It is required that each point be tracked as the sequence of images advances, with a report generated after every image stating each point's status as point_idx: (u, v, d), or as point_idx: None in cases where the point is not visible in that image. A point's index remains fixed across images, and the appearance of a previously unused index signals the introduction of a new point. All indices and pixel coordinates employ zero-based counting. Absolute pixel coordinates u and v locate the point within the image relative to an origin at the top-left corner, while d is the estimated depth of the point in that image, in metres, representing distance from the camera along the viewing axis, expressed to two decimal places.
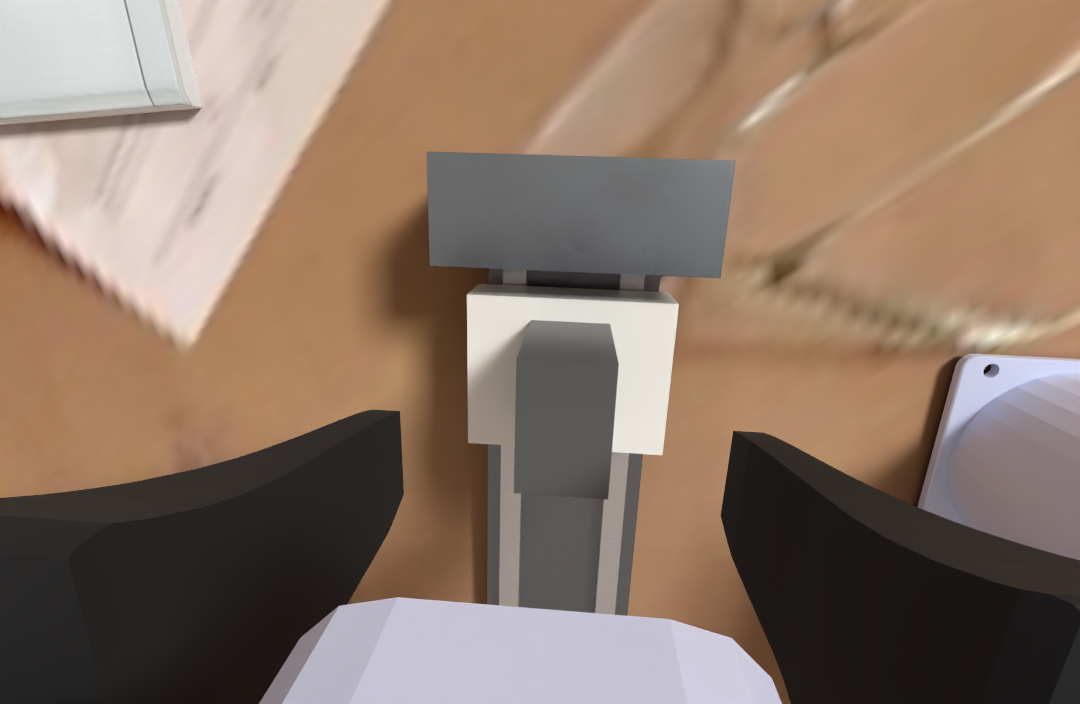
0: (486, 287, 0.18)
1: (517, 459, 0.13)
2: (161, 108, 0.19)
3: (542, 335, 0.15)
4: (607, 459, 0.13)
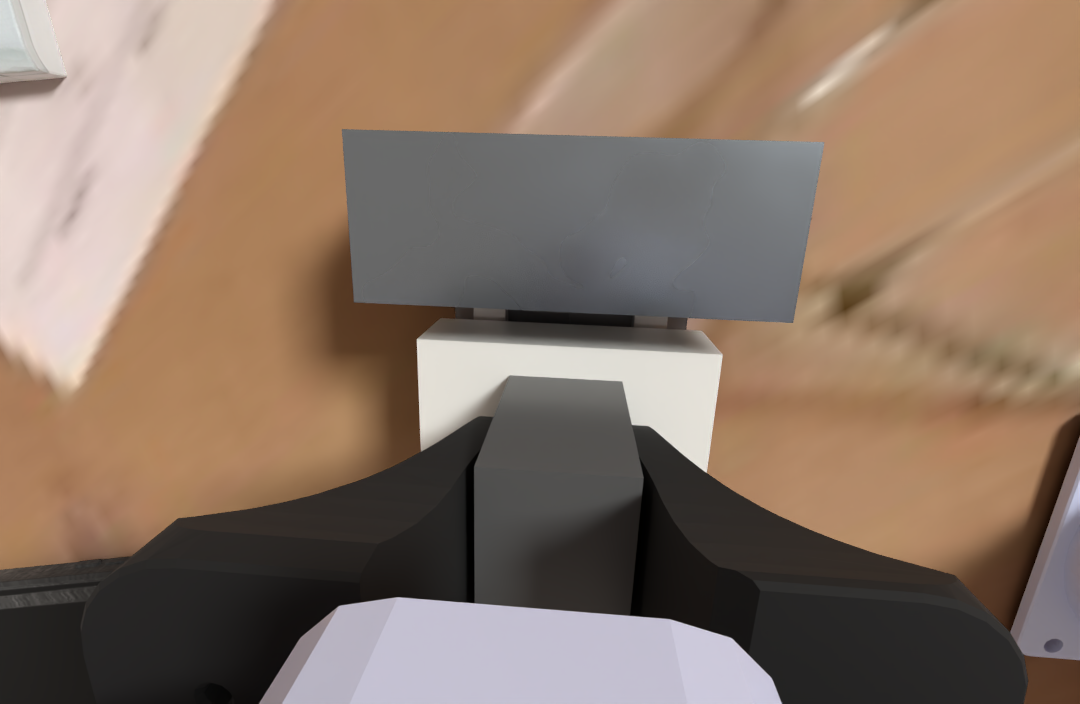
0: (448, 324, 0.13)
1: None
2: (9, 77, 0.14)
3: (522, 408, 0.10)
4: None
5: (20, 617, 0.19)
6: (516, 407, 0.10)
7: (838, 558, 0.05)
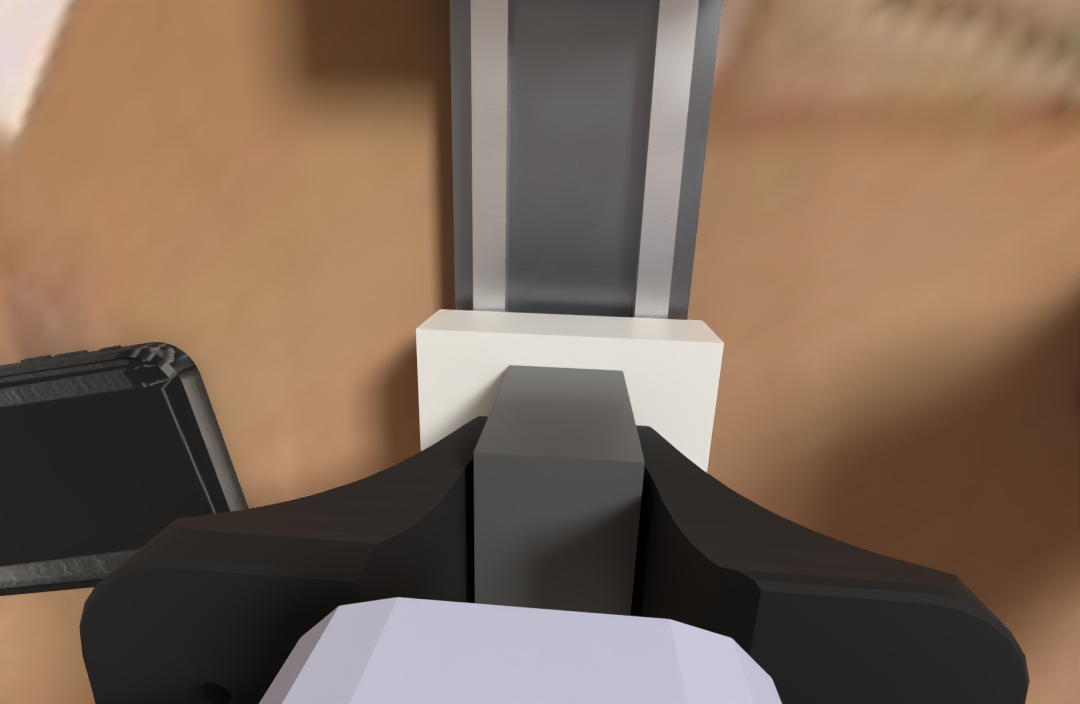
0: (448, 315, 0.13)
1: None
2: None
3: (522, 396, 0.10)
4: (625, 609, 0.08)
5: None
6: (516, 395, 0.10)
7: (839, 558, 0.05)
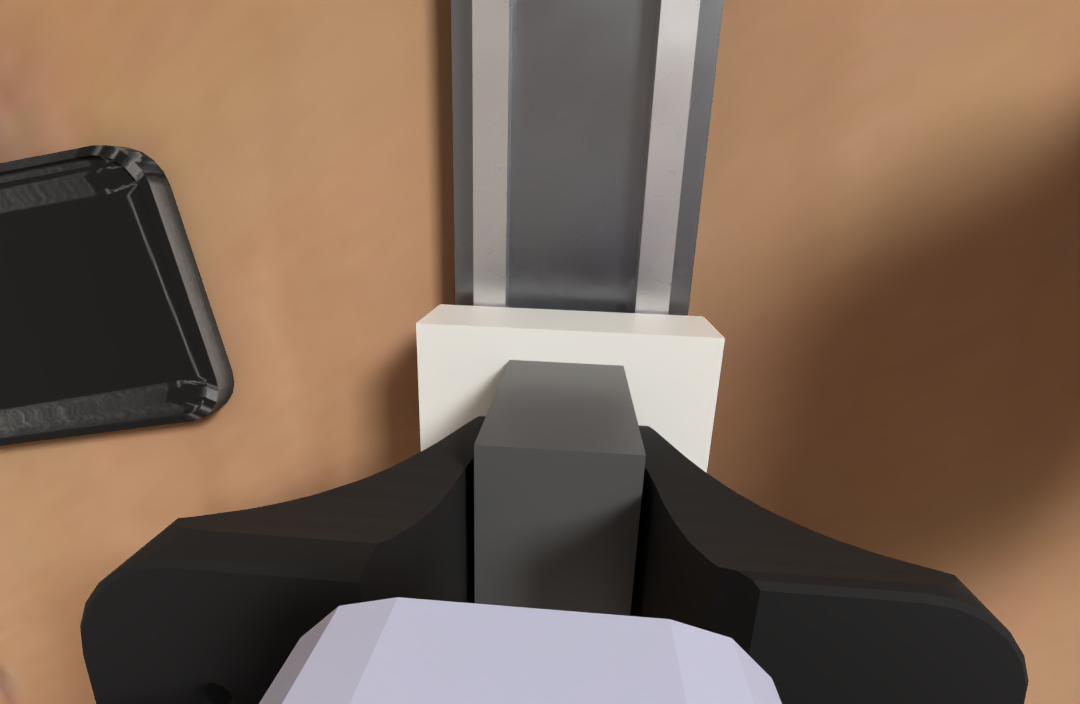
0: (448, 310, 0.13)
1: (479, 599, 0.08)
2: None
3: (523, 390, 0.10)
4: (625, 602, 0.08)
5: None
6: (516, 389, 0.10)
7: (838, 558, 0.05)
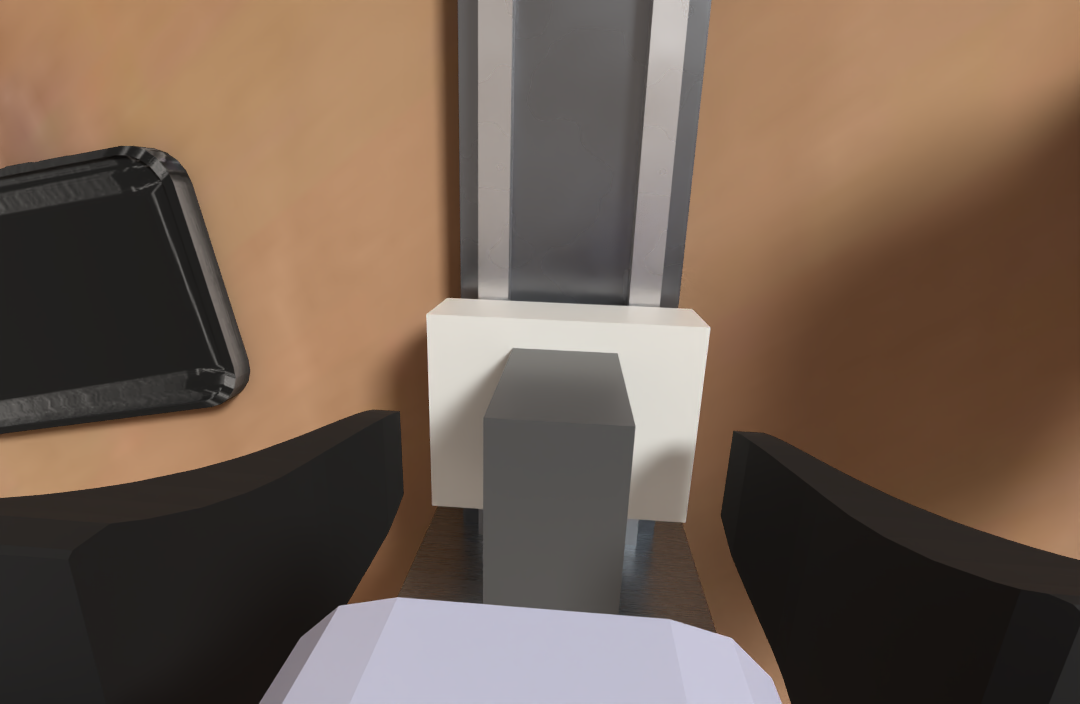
0: (455, 303, 0.13)
1: (487, 558, 0.09)
2: None
3: (525, 373, 0.11)
4: (618, 561, 0.09)
5: None
6: (520, 373, 0.11)
7: None
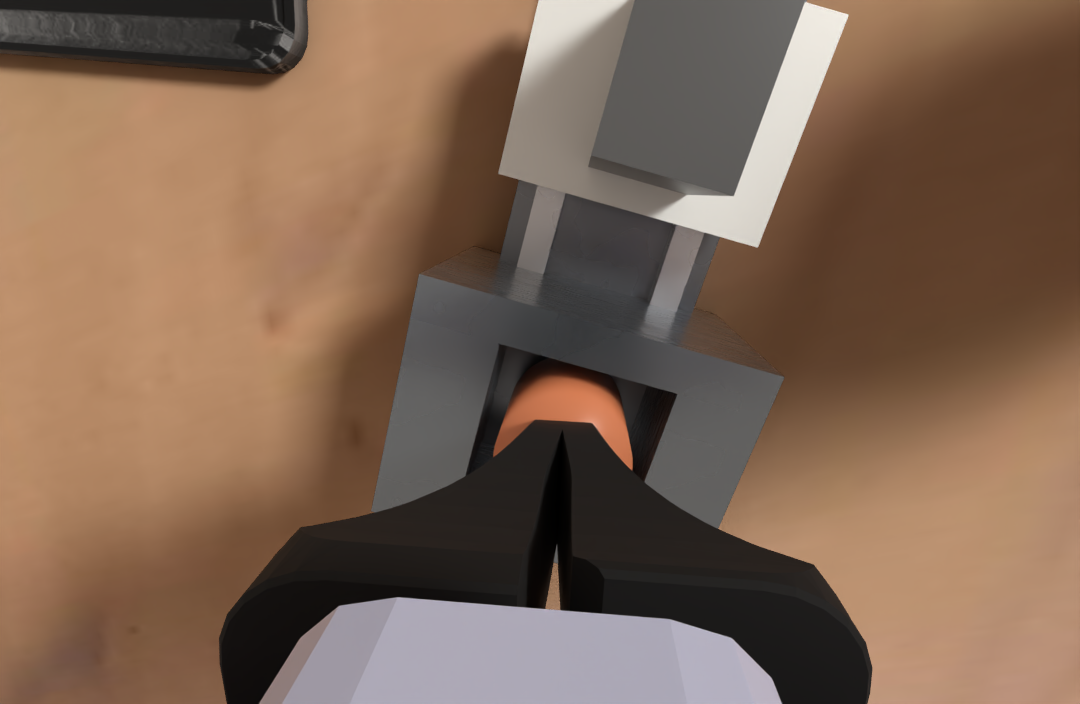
0: None
1: (613, 94, 0.08)
2: None
3: None
4: (754, 123, 0.08)
5: None
6: None
7: (710, 549, 0.05)
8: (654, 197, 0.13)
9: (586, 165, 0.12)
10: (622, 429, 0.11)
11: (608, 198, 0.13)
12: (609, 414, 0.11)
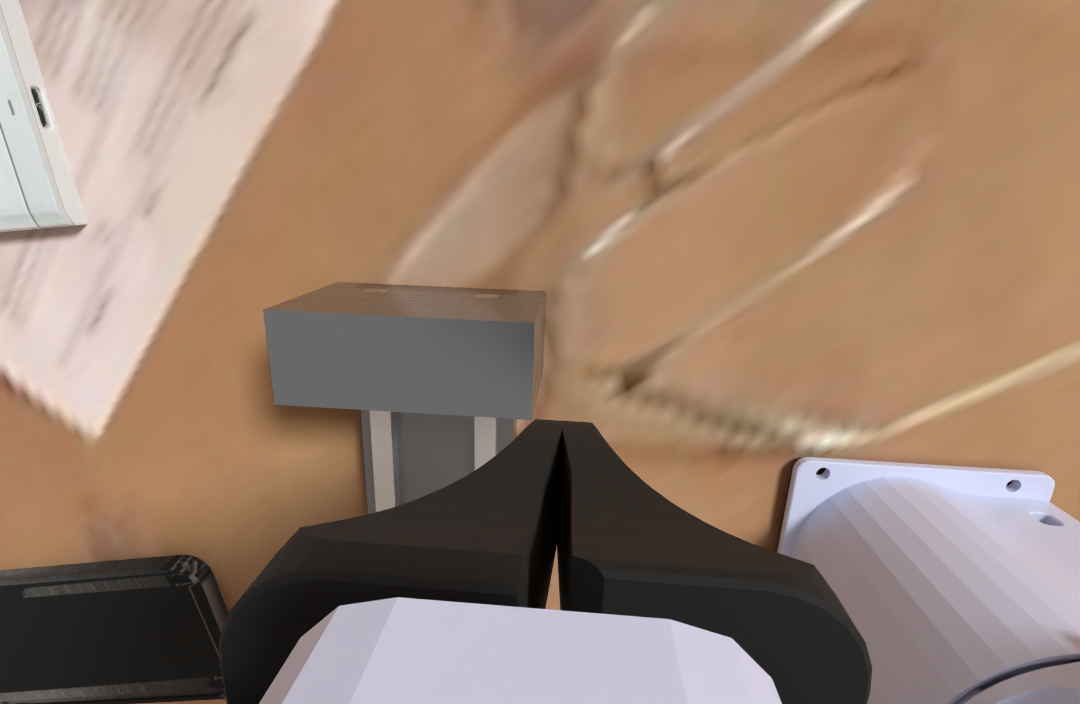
0: None
1: None
2: (48, 227, 0.20)
3: None
4: None
5: (55, 602, 0.25)
6: None
7: (710, 548, 0.05)
8: None
9: None
10: None
11: None
12: None
